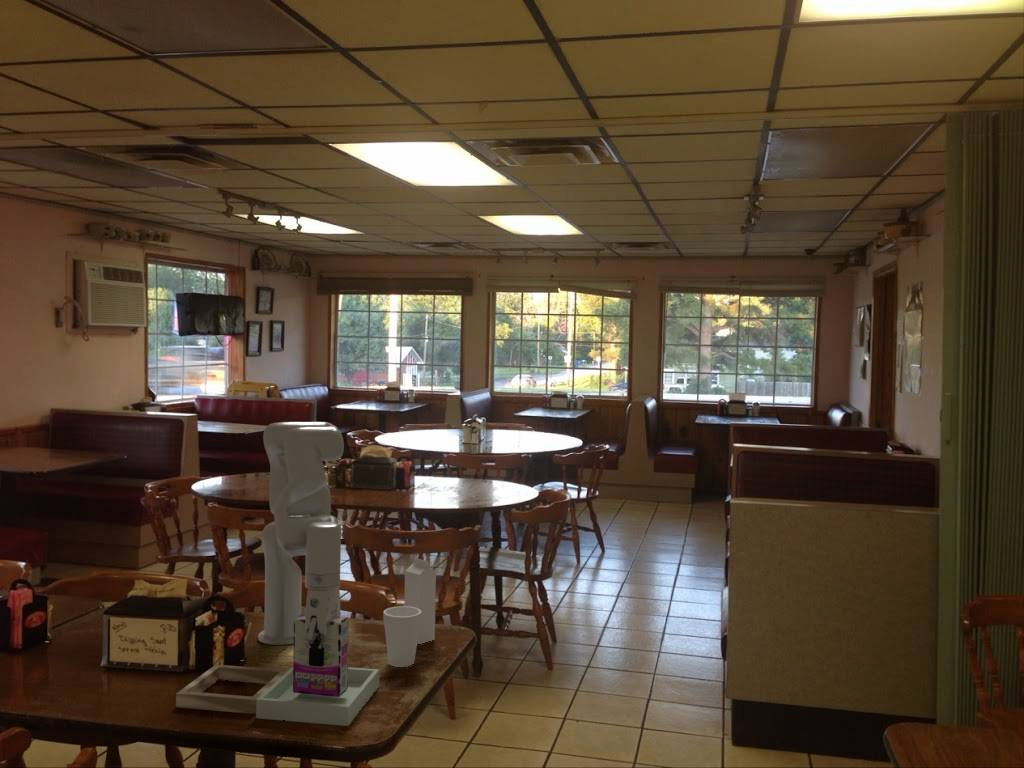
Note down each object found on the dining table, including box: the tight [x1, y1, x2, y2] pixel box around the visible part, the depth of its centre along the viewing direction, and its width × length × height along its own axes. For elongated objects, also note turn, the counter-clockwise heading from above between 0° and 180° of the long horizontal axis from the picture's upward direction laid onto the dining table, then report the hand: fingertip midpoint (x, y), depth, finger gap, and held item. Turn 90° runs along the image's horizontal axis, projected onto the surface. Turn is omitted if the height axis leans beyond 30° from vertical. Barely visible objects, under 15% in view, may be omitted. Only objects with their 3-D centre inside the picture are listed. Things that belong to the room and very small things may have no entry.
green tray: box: [255, 666, 380, 727], centre depth 194 cm, size 22×20×4 cm
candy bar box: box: [292, 613, 349, 697], centre depth 194 cm, size 11×5×16 cm, turn 78°
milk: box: [403, 557, 437, 645], centre depth 237 cm, size 6×6×22 cm
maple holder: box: [175, 664, 290, 715], centre depth 197 cm, size 18×18×3 cm
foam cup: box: [382, 605, 421, 668], centre depth 219 cm, size 10×9×13 cm
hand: (321, 660), depth 194 cm, fingers closed on candy bar box, 5 cm apart
